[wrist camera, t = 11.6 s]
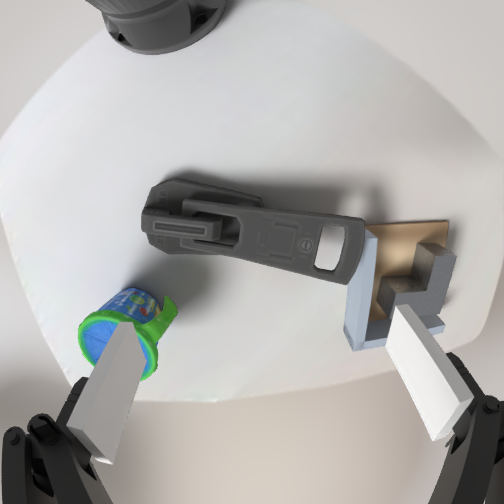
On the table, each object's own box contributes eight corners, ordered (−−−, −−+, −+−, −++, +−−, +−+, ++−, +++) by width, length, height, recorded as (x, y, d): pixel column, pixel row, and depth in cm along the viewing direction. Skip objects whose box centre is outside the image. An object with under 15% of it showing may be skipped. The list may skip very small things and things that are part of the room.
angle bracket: (375, 300, 39) (389, 319, 35) (387, 242, 36) (404, 256, 31) (423, 297, 39) (439, 313, 35) (437, 243, 36) (456, 256, 31)
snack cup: (165, 258, 37) (140, 298, 27) (201, 321, 40) (190, 370, 31) (83, 294, 39) (51, 332, 29) (119, 346, 42) (98, 390, 33)
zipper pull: (352, 291, 32) (130, 265, 30) (336, 267, 38) (148, 244, 36) (372, 216, 28) (130, 184, 27) (352, 202, 35) (150, 176, 33)
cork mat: (362, 225, 36) (363, 226, 35) (446, 221, 35) (448, 222, 35) (353, 321, 41) (354, 323, 41) (430, 308, 41) (432, 310, 40)
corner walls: (351, 226, 36) (365, 238, 31) (446, 221, 35) (466, 231, 31) (343, 330, 42) (352, 351, 37) (428, 315, 42) (442, 332, 37)
